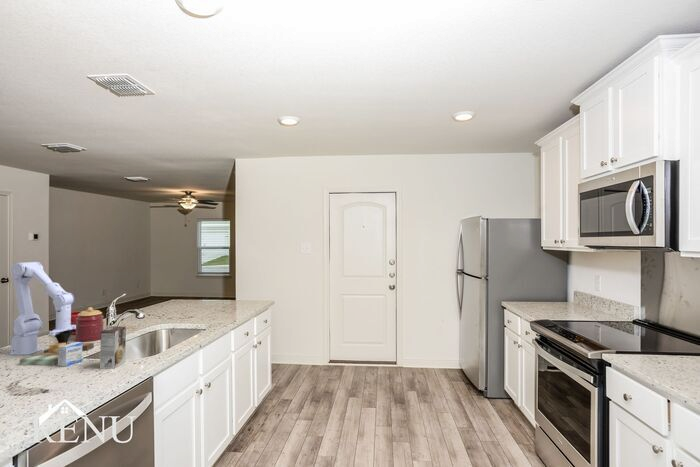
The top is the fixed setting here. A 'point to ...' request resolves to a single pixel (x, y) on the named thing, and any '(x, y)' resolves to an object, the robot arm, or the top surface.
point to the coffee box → (112, 347)
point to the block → (55, 347)
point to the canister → (89, 325)
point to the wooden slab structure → (48, 357)
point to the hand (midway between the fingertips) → (62, 347)
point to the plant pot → (74, 321)
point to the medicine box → (69, 354)
